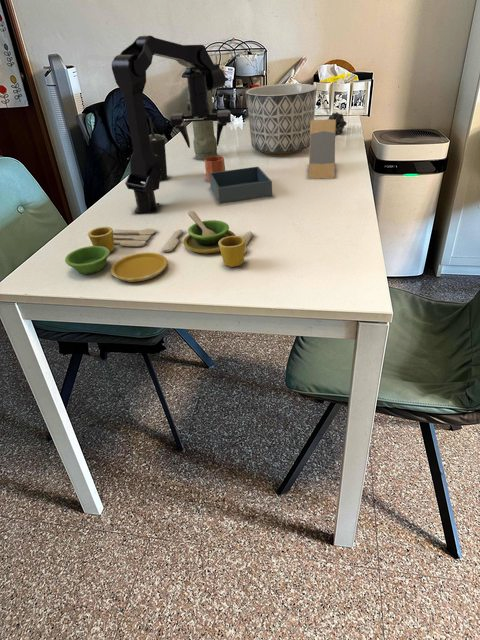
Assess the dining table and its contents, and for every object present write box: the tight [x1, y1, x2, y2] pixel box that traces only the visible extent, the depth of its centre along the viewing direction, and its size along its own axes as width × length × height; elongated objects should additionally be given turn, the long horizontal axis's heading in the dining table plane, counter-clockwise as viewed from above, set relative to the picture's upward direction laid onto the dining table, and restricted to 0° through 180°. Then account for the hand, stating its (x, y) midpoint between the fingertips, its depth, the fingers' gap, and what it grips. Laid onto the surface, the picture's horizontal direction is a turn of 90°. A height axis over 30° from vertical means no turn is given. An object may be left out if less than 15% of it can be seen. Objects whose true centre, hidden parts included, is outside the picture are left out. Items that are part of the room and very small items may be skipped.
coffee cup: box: [204, 155, 226, 182], centre depth 151 cm, size 6×6×7 cm
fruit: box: [327, 112, 348, 135], centre depth 194 cm, size 9×8×15 cm
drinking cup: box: [148, 117, 168, 182], centre depth 152 cm, size 8×8×20 cm
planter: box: [245, 83, 318, 157], centre depth 171 cm, size 26×26×22 cm
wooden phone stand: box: [308, 119, 337, 179], centre depth 148 cm, size 9×15×15 cm, turn 172°
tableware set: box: [64, 209, 254, 283], centre depth 106 cm, size 41×28×6 cm
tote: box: [209, 166, 273, 205], centre depth 139 cm, size 16×16×5 cm
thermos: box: [185, 67, 218, 161], centre depth 167 cm, size 9×12×35 cm
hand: (203, 146), depth 145 cm, fingers open, 9 cm apart
